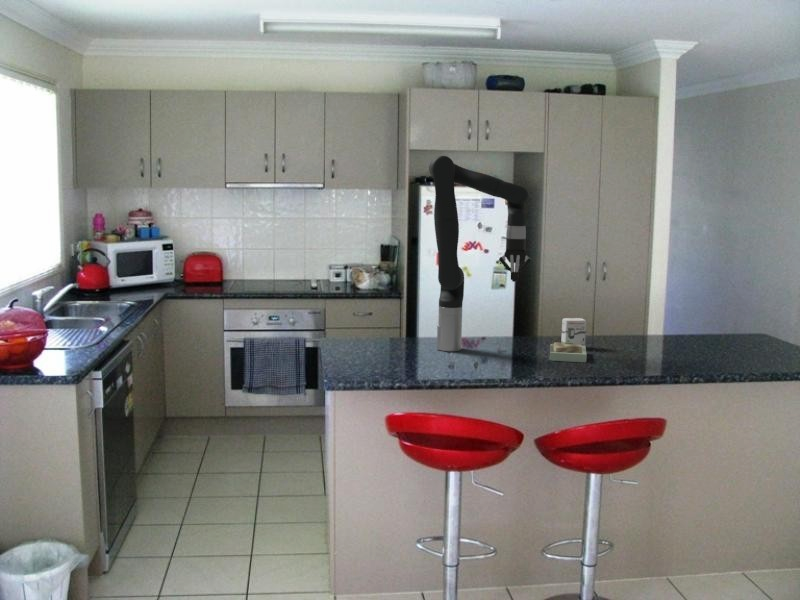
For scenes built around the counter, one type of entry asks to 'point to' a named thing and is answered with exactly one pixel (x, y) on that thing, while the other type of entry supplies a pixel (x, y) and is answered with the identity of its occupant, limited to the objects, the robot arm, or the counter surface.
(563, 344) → the t block
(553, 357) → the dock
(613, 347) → the counter surface
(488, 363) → the counter surface
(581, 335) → the ink box
